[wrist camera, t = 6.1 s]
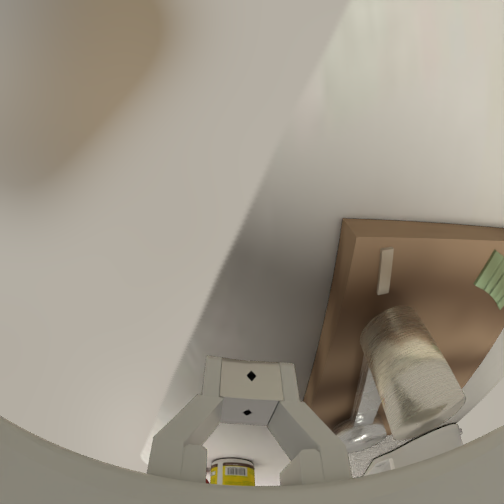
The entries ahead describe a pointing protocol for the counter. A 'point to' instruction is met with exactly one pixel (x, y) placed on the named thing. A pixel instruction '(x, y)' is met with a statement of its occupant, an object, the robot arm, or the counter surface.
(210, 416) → the robot arm
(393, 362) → the silver measuring spoon
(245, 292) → the counter surface
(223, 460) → the supplement bottle
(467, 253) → the board
